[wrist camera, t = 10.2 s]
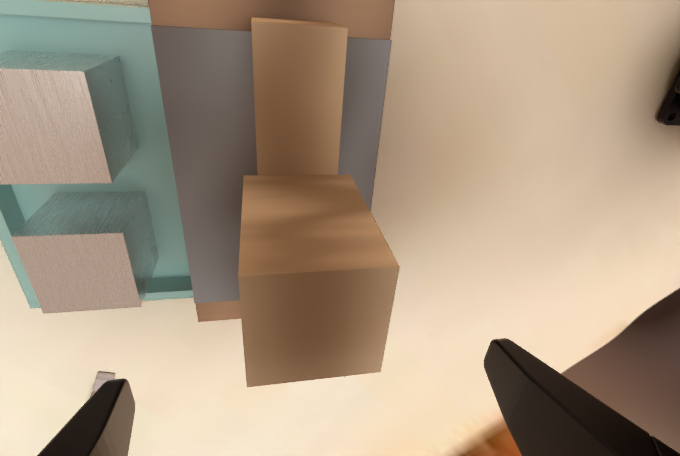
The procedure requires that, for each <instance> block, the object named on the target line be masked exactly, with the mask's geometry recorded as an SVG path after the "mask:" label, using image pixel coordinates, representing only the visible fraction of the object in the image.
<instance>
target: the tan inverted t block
mask: <svg viewBox="0 0 680 456" xmlns="http://www.w3.org/2000/svg"><path fill="white" fill-rule="evenodd" d="M251 28H252V52H253V76H254V100H255V124H256V148H257V172H258V175H244V178H243V196H242V214H241V232H240V251H239V269H238V281H239V294H240V306H241V319H242V331H243V343H244V356H245V368H246V381H247V387H253V386H261V385H270V384H279V383H288V382H296V381H305V380H314V379H323V378H331V377H340V376H349V375H357V374H366V373H375V372H381V366H382V361H383V355H384V350H385V344H386V339H387V333H388V328H389V322H390V317H391V311H392V306H393V300H394V295H395V289H396V284H397V278H398V273H399V267H400V266H399V265H398V263H397V261H396V259H395V257H394V255H393V253H392V251H391V250H390V248H389V246H388V244H387V242H386V240H385V238H384V237H383V235H382V233H381V231H380V229H379V227H378V225H377V223H376V222H375V220H374V218H373V216H372V214H371V212H370V210H369V208H368V207H367V205H366V203H365V201H364V199H363V197H362V195H361V193H360V192H359V190H358V188H357V186H356V184H355V182H354V180H353V179H352V177H351V175H350V174H345V175H338V162H339V148H340V134H341V119H342V105H343V91H344V77H345V63H346V49H347V35H348V28H346V27H343V26H340V25H338V24H335V23H332V22H318V21H304V20H289V19H274V18H260V17H252V19H251Z"/></svg>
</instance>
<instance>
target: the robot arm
mask: <svg viewBox="0 0 680 456" xmlns="http://www.w3.org/2000/svg"><path fill="white" fill-rule="evenodd" d="M658 121H659V123H662V124H665V125H680V72H679V74H678V76H677V78H676V80H675V82H674V84H673V86H672V88H671V90H670V93H669V95H668V97H667V99H666V101H665V103H664V105H663V107H662V109H661V111H660V113H659V116H658ZM484 368H485V371H486V374H487V376H488V379H489V381H490V384H491V387H492V389H493V392H494V394H495V397H496V399H497V402H498V405H499V407H500V410H501V412H502V415H503V417H504V420H505V422H506V424H507V426H508V429H509V431H510V433H511V435H512V437H513V439H514V441H515V443H516V445H517V447H518V449H519V451H520V453H521V455H522V456H680V454H679V453H678V452H676V451H675V450H673V449H672V448H670V447H669V446H667V445H666V444H664V443H663V442H661V441H660V440H658V439H656V438H655V437H654V436H650V435H649V433H648V432H646V431H645V430H643V429H642V428H640V427H639V426H637V425H636V424H634V423H633V422H631V421H630V420H628V419H627V418H625V417H624V416H622V415H621V414H620V413H618V412H616V411H615V410H614V409H612V408H611V407H609V406H608V405H606V404H605V403H603V402H602V401H600V400H599V399H597V398H596V397H594V396H593V395H591V394H590V393H588V392H587V391H585V390H584V389H582V388H581V387H579V386H578V385H576V384H575V383H573V382H572V381H570V380H569V379H567V378H566V377H564V376H563V375H562V374H560V373H559V372H557V371H556V370H554V369H553V368H551V367H550V366H548V365H547V364H545V363H544V362H542V361H541V360H539V359H538V358H536V357H535V356H533V355H532V354H530V353H529V352H527V351H526V350H524V349H523V348H521V347H520V346H518V345H517V344H515V343H514V342H512V341H511V340H509V339H506V338H503V339H494V340H492V341H491V343H490V345H489V348H488V351H487V353H486V356H485V359H484ZM134 413H135V401H134V398H133V395H132V391H131V388H130V385H129V382H128V380H126V379H115V380H108V381H106V382H105V383H103V384H102V385H101V387H100V388H99V389H98V390H97V391H96V392H95V393H94V394H93V395H92V396H91V397H90V399H89V400H88V401H87V402H86V403H85V404H84V405H83V406H82V407H81V408H80V409H79V411H78V412H77V413H76V414H75V415H74V416H73V417H72V418H71V419H70V420H69V422H68V423H67V424H66V425H65V426H64V427H63V428H62V429H61V430H60V431H59V432H58V434H57V435H56V436H55V437H54V438H53V439H52V440H51V441H50V442H49V443H48V444H47V446H46V447H45V448H44V449H43V450H42V451H41V452H40V453H39V454H38V455H37V456H128V450H129V444H130V438H131V432H132V426H133V419H134Z"/></svg>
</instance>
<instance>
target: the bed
mask: <svg viewBox="0 0 680 456" xmlns="http://www.w3.org/2000/svg"><path fill="white" fill-rule="evenodd" d="M394 3H395V0H148V4H149V10H150V16H151V23H152V25H151V31H152V37H153V44H154V50H155V56H156V62H157V69H158V75H159V81H160V88H161V94H162V100H163V107H164V113H165V119H166V126H167V132H168V138H169V144H170V151H171V157H172V163H173V170H174V176H175V182H176V189H177V195H178V201H179V207H180V214H181V220H182V226H183V233H184V239H185V245H186V252H187V258H188V264H189V271H190V277H191V283H192V289H193V296H194V302H195V303H196V309H197V315H198V322H202V321H214V320H227V319H239V318H241V306H240V294H239V281H238V269H239V251H240V232H241V214H242V196H243V178H244V175H258V172H257V148H256V124H255V100H254V76H253V52H252V28H251V19H252V17H260V18H274V19H289V20H304V21H318V22H332V23H335V24H338V25H340V26H343V27H346V28H348V35H347V49H346V63H345V77H344V91H343V105H342V119H341V134H340V148H339V162H338V175H345V174H350V175H351V177H352V179H353V180H354V182H355V184H356V186H357V188H358V190H359V192H360V193H361V195H362V197H363V199H364V201H365V203H366V205H367V207H368V208H369V210H370V211H371V203H372V195H373V187H374V179H375V170H376V162H377V154H378V146H379V138H380V130H381V122H382V114H383V106H384V97H385V89H386V81H387V73H388V65H389V57H390V49H391V41H392V40H390V36H391V28H392V20H393V12H394Z"/></svg>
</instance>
